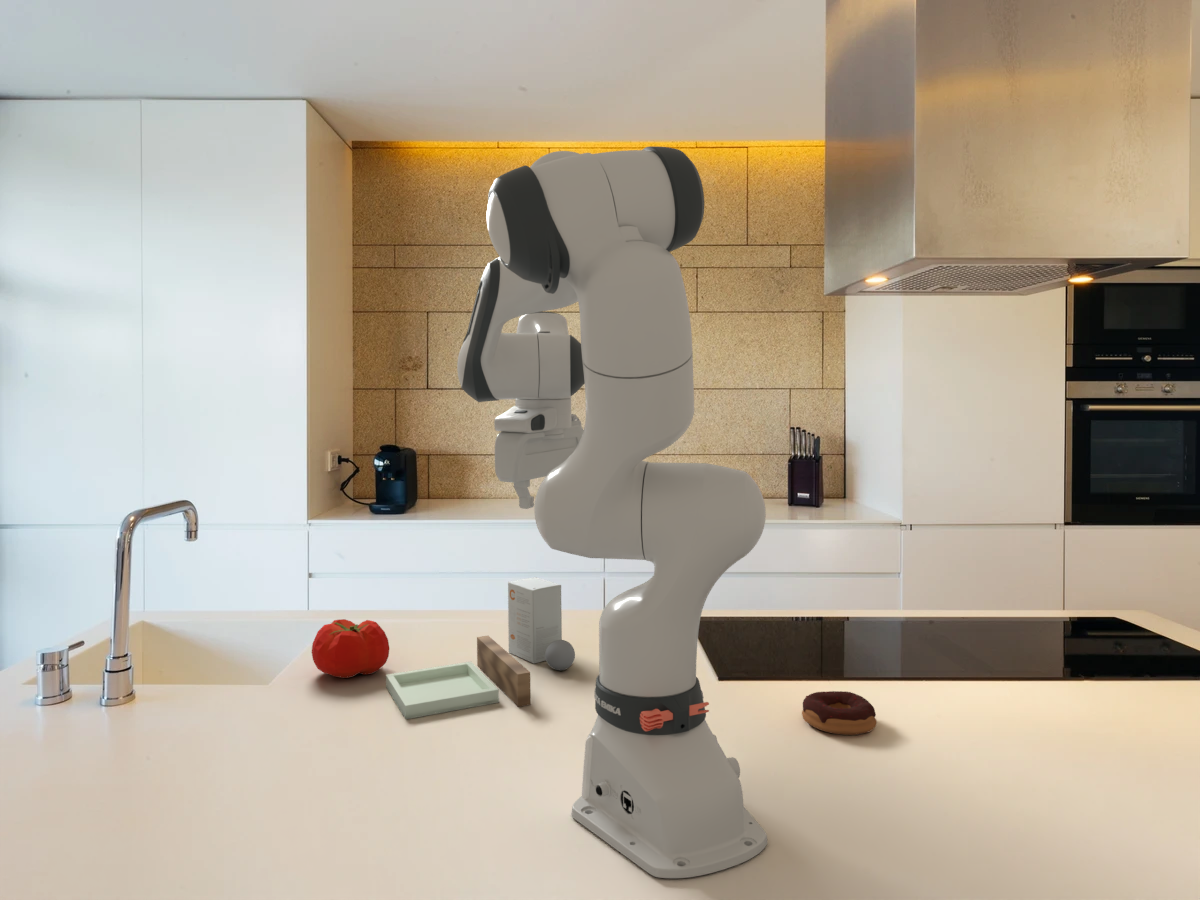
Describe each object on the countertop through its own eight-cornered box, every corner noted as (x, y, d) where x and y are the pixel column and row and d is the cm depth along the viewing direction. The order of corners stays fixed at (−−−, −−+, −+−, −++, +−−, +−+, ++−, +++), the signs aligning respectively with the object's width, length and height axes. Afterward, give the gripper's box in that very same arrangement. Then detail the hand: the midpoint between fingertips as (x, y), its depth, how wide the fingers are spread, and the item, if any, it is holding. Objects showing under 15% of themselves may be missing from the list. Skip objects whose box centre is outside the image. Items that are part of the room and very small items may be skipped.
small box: (562, 656, 142) (562, 584, 141) (533, 664, 138) (532, 590, 137) (536, 645, 148) (536, 576, 147) (507, 652, 144) (506, 581, 143)
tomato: (294, 682, 130) (292, 630, 129) (342, 657, 142) (340, 610, 141) (360, 691, 126) (359, 638, 125) (404, 665, 138) (403, 616, 137)
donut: (875, 715, 116) (876, 689, 116) (877, 744, 107) (877, 715, 107) (804, 707, 119) (804, 681, 119) (799, 734, 110) (799, 706, 110)
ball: (579, 671, 134) (579, 642, 134) (552, 676, 132) (552, 646, 132) (567, 662, 139) (567, 634, 138) (540, 667, 136) (540, 638, 136)
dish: (498, 702, 121) (498, 689, 121) (405, 719, 115) (405, 705, 115) (471, 673, 134) (471, 661, 134) (386, 686, 128) (385, 674, 127)
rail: (530, 704, 120) (530, 672, 120) (518, 707, 119) (517, 674, 119) (488, 663, 138) (488, 635, 138) (477, 665, 137) (476, 637, 137)
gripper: (564, 412, 137) (565, 492, 139) (486, 420, 120) (488, 511, 121) (595, 413, 134) (596, 495, 135) (520, 421, 117) (521, 515, 118)
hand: (544, 503), depth 128 cm, fingers open, 8 cm apart
